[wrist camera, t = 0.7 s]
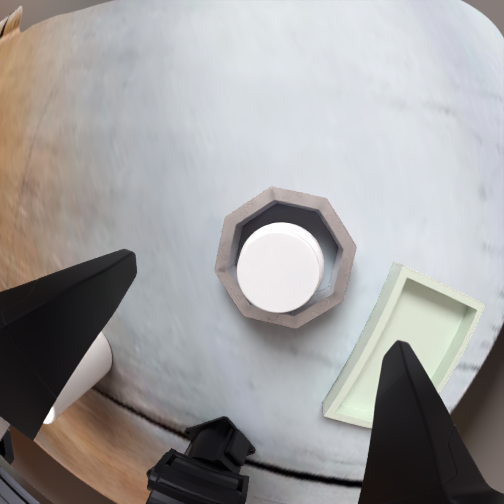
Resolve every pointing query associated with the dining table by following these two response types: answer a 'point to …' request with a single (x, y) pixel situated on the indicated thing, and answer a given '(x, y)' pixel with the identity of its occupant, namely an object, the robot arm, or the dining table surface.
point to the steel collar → (316, 303)
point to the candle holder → (83, 376)
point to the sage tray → (405, 329)
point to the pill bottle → (280, 267)
